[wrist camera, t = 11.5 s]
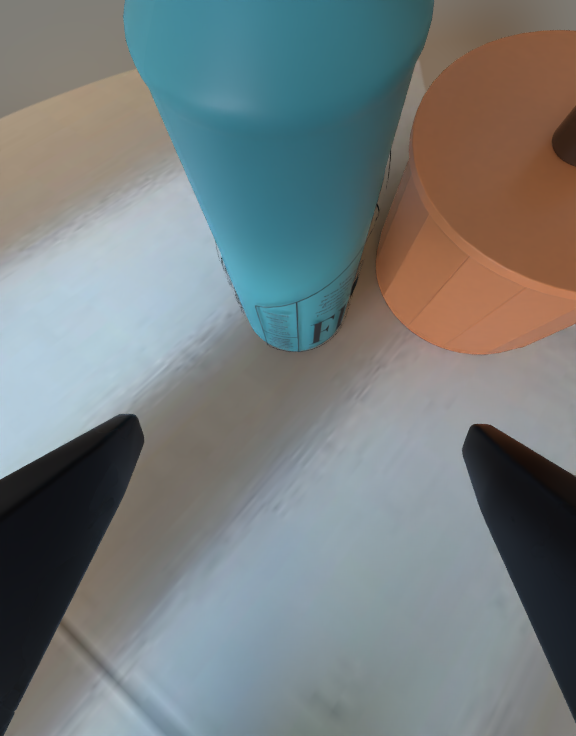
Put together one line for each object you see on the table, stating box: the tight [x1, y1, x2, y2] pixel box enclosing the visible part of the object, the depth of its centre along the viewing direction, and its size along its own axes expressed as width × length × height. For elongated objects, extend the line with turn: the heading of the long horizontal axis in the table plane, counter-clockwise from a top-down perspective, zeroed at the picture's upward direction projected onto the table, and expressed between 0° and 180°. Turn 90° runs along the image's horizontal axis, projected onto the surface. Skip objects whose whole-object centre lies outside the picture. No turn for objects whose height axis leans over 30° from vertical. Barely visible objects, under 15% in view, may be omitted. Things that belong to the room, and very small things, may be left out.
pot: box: [376, 159, 576, 355], centre depth 17 cm, size 13×13×8 cm
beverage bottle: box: [123, 0, 434, 352], centre depth 11 cm, size 6×7×20 cm
